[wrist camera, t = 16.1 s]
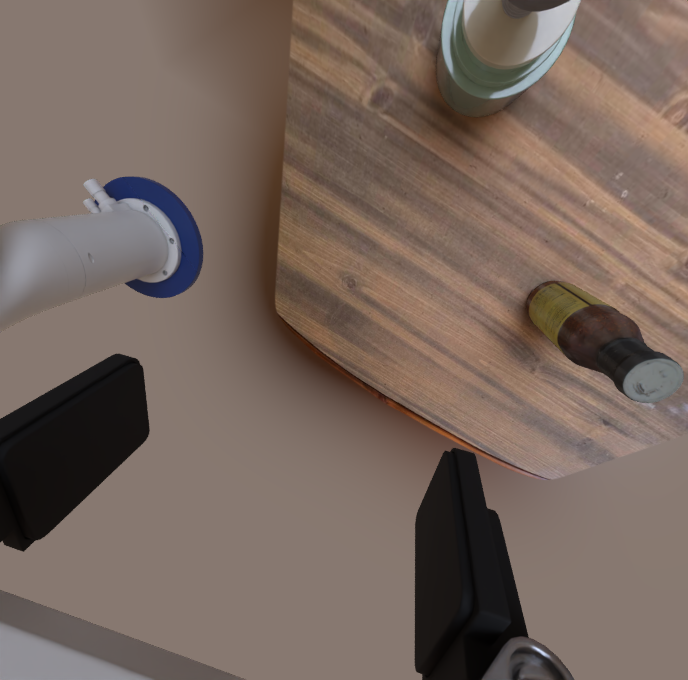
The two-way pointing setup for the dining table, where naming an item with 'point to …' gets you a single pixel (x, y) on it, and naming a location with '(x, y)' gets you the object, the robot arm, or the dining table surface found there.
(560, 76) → the dining table surface
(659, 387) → the sauce bottle
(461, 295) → the dining table surface
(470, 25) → the green lidded jar
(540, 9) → the light bulb
